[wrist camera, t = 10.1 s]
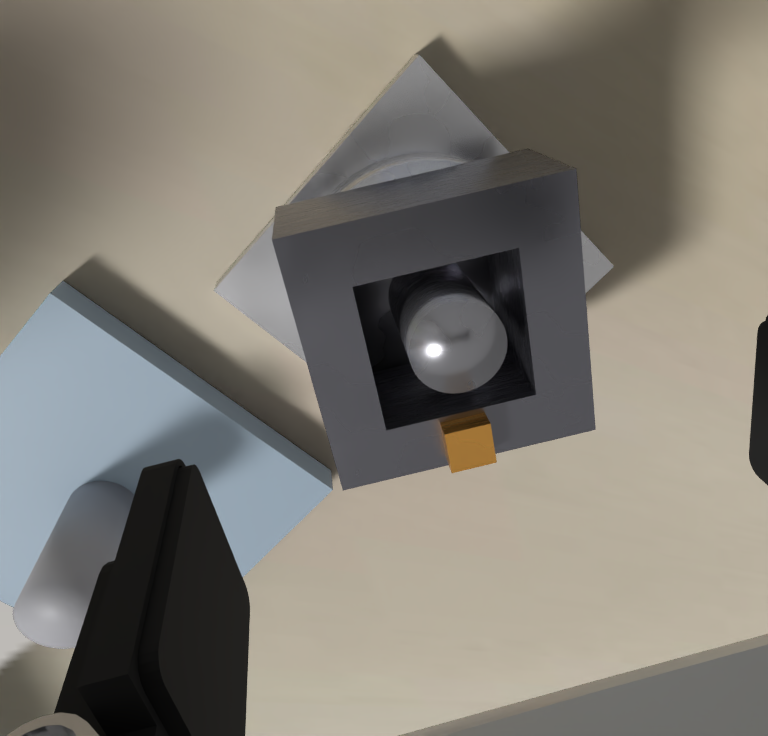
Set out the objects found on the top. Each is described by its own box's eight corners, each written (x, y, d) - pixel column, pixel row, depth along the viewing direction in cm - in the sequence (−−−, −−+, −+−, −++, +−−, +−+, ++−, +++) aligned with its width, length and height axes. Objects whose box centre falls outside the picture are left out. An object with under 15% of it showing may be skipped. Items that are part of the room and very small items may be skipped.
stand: (-120, 510, 23) (-246, 648, 18) (62, 280, 21) (-20, 361, 15) (150, 647, 27) (115, 794, 22) (331, 470, 25) (340, 587, 19)
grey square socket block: (275, 207, 18) (270, 246, 14) (527, 148, 18) (586, 172, 14) (336, 425, 21) (344, 503, 17) (551, 373, 21) (604, 440, 18)
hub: (216, 282, 21) (186, 368, 15) (414, 54, 19) (466, 55, 13) (416, 438, 25) (453, 557, 19) (604, 259, 22) (710, 330, 17)
